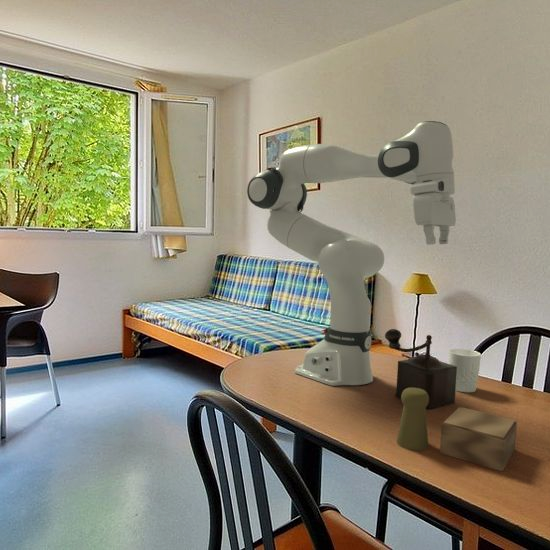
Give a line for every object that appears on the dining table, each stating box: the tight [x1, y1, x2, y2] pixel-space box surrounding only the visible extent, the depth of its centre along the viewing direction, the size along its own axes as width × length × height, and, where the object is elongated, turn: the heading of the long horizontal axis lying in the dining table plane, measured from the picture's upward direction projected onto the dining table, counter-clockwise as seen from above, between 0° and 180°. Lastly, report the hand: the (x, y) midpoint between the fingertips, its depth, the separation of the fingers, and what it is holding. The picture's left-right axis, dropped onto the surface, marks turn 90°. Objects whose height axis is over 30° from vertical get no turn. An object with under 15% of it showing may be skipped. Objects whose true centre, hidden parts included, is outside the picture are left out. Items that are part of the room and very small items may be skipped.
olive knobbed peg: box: [396, 388, 429, 452], centre depth 93 cm, size 6×6×11 cm
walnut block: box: [439, 406, 518, 472], centre depth 91 cm, size 11×11×6 cm
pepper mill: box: [384, 328, 457, 411], centre depth 117 cm, size 16×11×18 cm
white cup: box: [448, 348, 482, 393], centre depth 128 cm, size 8×8×10 cm
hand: (437, 244), depth 117 cm, fingers open, 8 cm apart
